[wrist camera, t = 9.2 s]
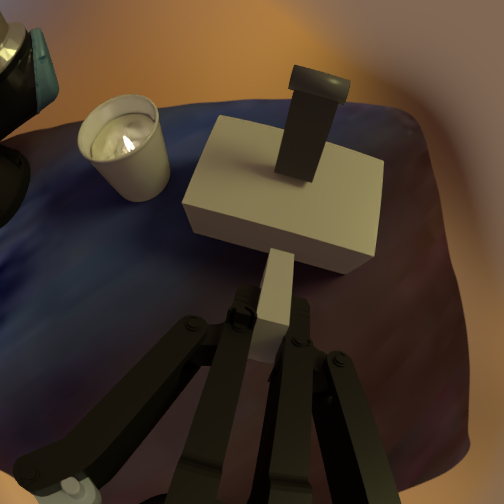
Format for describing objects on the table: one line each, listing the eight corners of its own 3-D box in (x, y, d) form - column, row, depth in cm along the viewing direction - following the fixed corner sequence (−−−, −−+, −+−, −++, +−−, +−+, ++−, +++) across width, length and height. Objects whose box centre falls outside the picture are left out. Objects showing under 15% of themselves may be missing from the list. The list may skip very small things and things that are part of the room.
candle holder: (181, 148, 42) (166, 91, 30) (170, 209, 39) (146, 160, 28) (120, 149, 42) (92, 97, 30) (104, 207, 39) (66, 163, 28)
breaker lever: (268, 172, 30) (293, 67, 22) (272, 161, 32) (295, 62, 23) (316, 186, 30) (351, 84, 21) (317, 174, 31) (349, 78, 23)
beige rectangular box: (193, 232, 39) (181, 202, 30) (222, 154, 42) (220, 113, 33) (345, 274, 38) (373, 256, 29) (358, 192, 41) (383, 159, 33)
